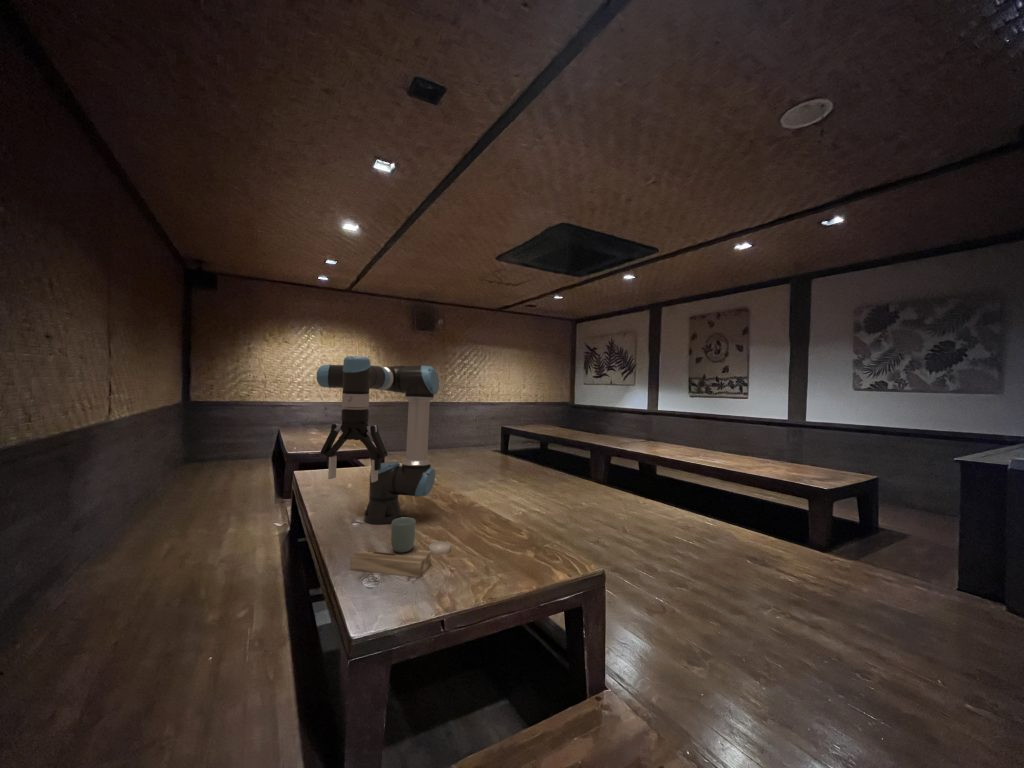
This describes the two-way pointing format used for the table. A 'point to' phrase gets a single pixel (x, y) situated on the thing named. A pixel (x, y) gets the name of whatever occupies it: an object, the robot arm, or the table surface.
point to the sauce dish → (439, 547)
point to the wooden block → (391, 563)
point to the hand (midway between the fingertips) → (353, 479)
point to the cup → (403, 534)
